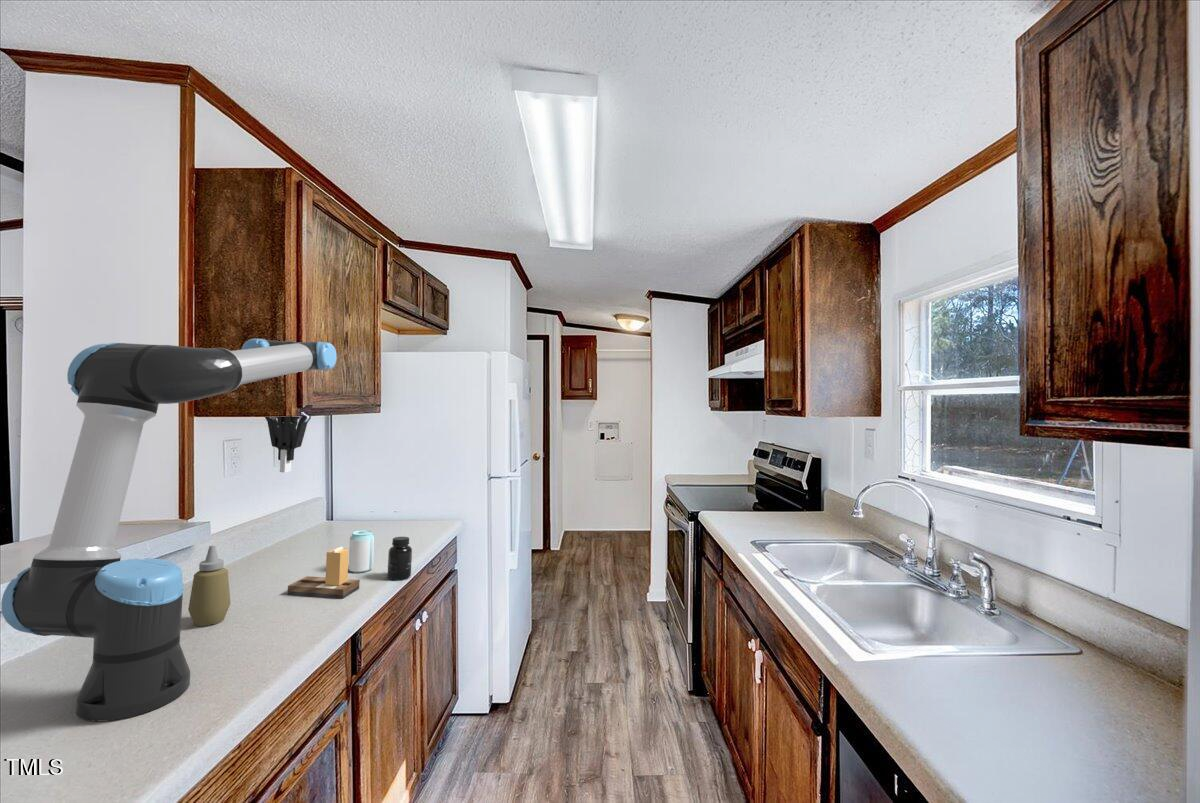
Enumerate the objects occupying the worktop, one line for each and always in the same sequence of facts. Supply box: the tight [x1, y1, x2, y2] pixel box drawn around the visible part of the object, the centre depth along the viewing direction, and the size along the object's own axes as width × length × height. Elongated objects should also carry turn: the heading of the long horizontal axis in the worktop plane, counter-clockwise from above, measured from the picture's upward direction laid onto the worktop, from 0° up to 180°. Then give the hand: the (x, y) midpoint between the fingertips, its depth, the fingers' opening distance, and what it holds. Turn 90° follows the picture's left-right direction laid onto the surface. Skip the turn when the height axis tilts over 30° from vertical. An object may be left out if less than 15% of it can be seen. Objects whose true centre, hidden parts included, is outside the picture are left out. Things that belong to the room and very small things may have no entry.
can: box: [348, 529, 375, 574], centre depth 165 cm, size 7×7×12 cm
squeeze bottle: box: [188, 545, 231, 627], centre depth 124 cm, size 8×8×18 cm
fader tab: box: [325, 546, 349, 586], centre depth 146 cm, size 4×4×11 cm
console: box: [287, 575, 361, 600], centre depth 146 cm, size 16×8×3 cm, turn 85°
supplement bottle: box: [386, 536, 413, 581], centre depth 160 cm, size 7×7×12 cm
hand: (285, 471), depth 151 cm, fingers closed
